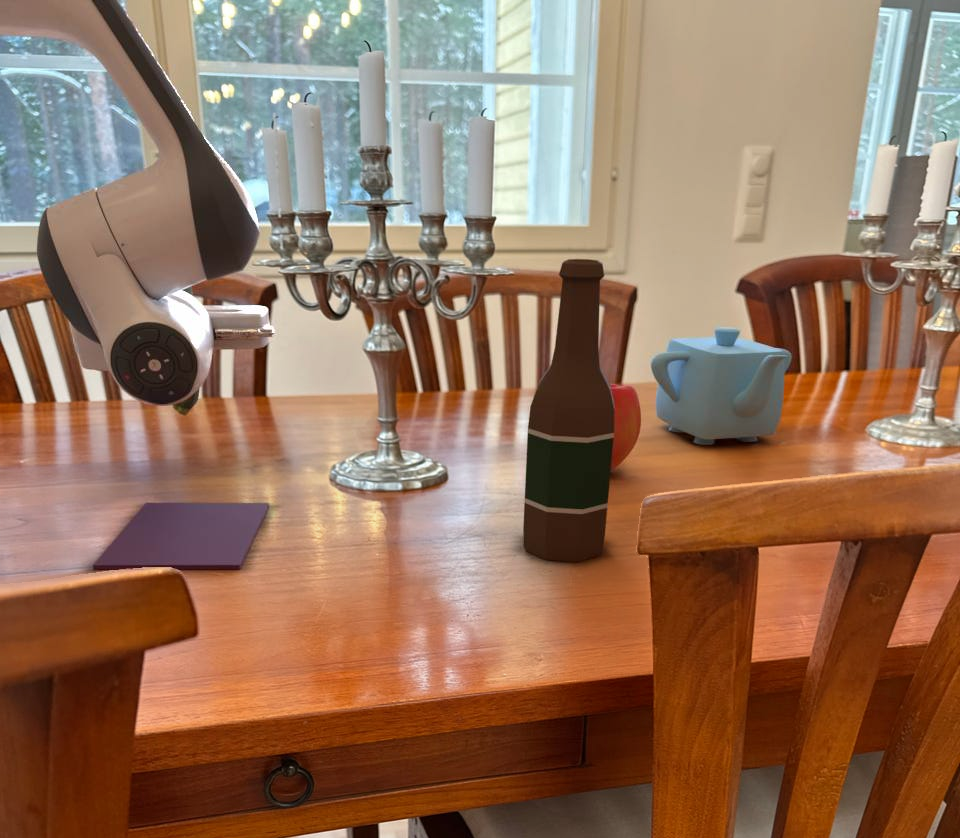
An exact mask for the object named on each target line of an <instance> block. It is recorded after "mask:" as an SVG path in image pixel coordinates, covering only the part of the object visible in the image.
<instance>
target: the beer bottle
mask: <svg viewBox="0 0 960 838" xmlns="http://www.w3.org/2000/svg"><path fill="white" fill-rule="evenodd" d="M558 276H559V277H560V278H561V279H562V282H561V289H560V299H559V308H558V318H557V326H556V334H555V342H554V343H555V344H554V349H553V354H552V359H551V363H550V365H549V367H548V368H547V370H546V371H545V372H544V374H543V376H542V377H541V379H540V380H539V382H538V384H537V386H536V387H537V388H536V390H535V393H534V396H533V397H532V400H531V404H530V408H529V414H528V422H527V423H528V425H527V437H526V438H527V439H526V459H525V460H526V464H525V482H524V483H525V485H524V503H523V504H524V506H523V528H522V529H523V530H522V531H523V534H522V535H523V537H522V538H523V548H524V550H525V552H528V553H531V554H532V555H535V556H537V557H538V558H541V559H543V560H545V561H555V562H571V563H578V562H582V561H587V560H589V559H592V558H596V557H600V556H601V554H602V553H603V550H604V544H605V536H606V529H607V528H606V527H607V518H608V516H607V515H608V505H609V493H610V483H611V473H612V471H611V462H612V451H613V440H614V412H615V409H614V399H613V395H612V391H611V387H610V384H609V383H610V382H609V379H608V378H607V376H606V374H605V372H604V370H603V369H602V367H601V361H600V359H601V358H600V347H599V346H600V345H599V344H600V340H599V339H600V302H601V301H600V300H601V280H602V279H603V278H604V277H605V270H604V264H603V262H601V261H600V260H598V259H589V258H587V259H586V258H568V259H566V260H564V261H563V262H561V266H560V270H559V273H558Z"/></svg>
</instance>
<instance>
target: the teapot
mask: <svg viewBox="0 0 960 838" xmlns="http://www.w3.org/2000/svg"><path fill="white" fill-rule="evenodd" d="M713 330H714V331H713V333H714V336H708V337H677V338H670V340H668V344H667V346H666V350H665V351H663V352H660V353H658V354H655V355H654V356H653V357H652V359H651V360H650V368H651V373H652V375H653V377H654V379H655V381H656V382H657V387H656V395H655V412H656V418H658V419H659V420H661V421H662V422H664V423H666V424H667V425H668V426H670V427H669V428H668V431H671V432H674V433H685V434H688V435H691V436H694V439H693V443H695V444H698V445H703V446H708V445H709V446H710V445H714V444H715V440H720V439H721V440H723V439H736V440H737V441H740V442H744V443H745V442H746V443H753V442H757V441H758V438H757V437H764V436H773V435H775V433H776V431H777V428H778V426H779V425H780V422H781V418H782V412H783V405H784V394H785V374H786V372H787V370H788V369H789V367H790V366H791V362H792V358H793V357H792V354H791V352H790V351H789V350H787V349H784V348H778V347H773V346H770V345H766V344H763V343H761V342H760V343H759V342H757V341H752V340H749V339H745V338H741V337H739V336H740V334H741V330H740V329H739V328H736V327H726V326H725V327H723V326H721V327H716V328H714V329H713Z"/></svg>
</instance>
